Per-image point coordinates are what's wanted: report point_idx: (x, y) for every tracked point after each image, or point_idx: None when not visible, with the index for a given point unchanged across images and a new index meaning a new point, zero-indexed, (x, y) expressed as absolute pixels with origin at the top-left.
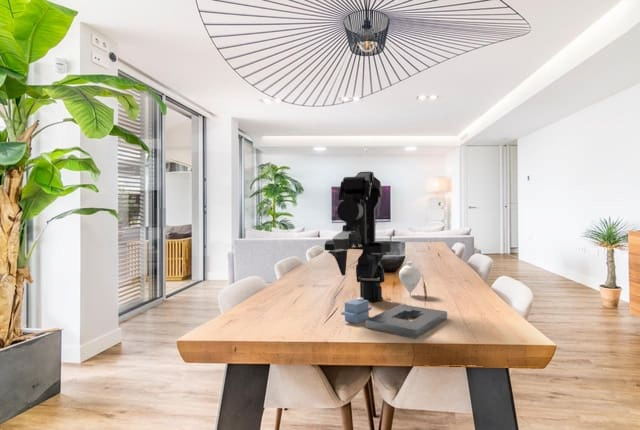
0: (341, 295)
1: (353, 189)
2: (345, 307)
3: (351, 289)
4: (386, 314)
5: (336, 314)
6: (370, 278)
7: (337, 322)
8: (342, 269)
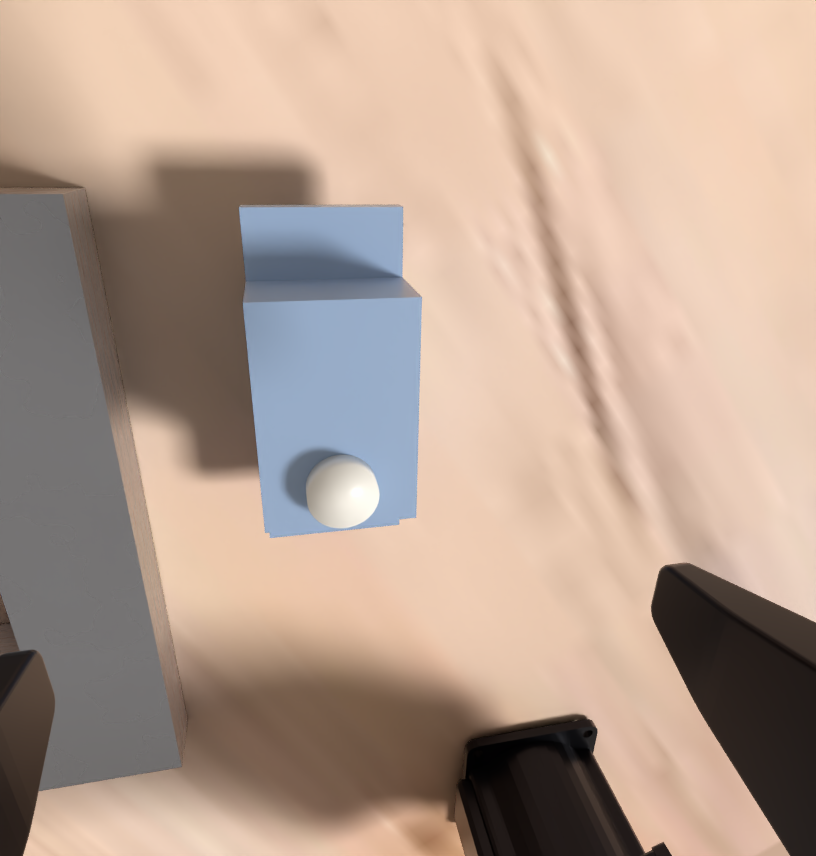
0: None
1: None
2: (400, 287)
3: (735, 839)
4: (50, 484)
5: (546, 365)
6: (9, 652)
7: (409, 170)
8: (743, 641)
